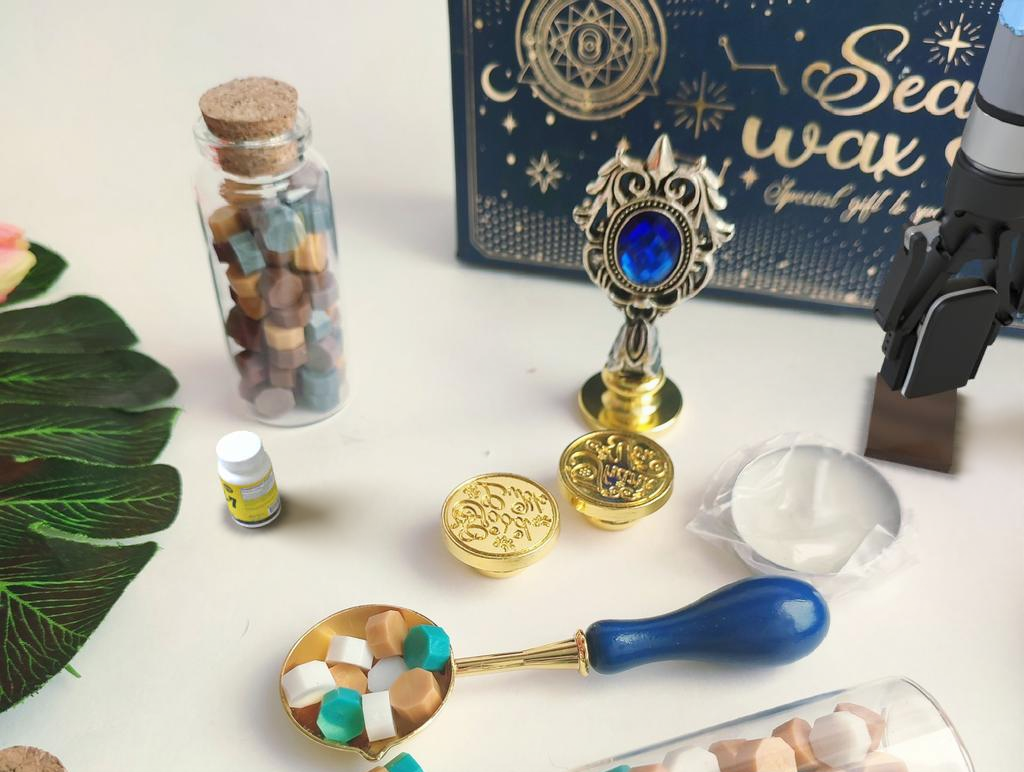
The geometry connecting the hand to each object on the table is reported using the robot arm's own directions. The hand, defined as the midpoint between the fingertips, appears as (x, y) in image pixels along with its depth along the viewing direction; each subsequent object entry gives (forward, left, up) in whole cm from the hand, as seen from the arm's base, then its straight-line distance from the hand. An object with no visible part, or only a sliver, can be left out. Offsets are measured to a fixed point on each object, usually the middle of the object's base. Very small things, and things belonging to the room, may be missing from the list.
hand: (926, 375), depth 104 cm
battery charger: (0, 0, -1) cm, 1 cm away
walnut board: (0, 0, -6) cm, 6 cm away
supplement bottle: (+65, -2, -7) cm, 65 cm away
